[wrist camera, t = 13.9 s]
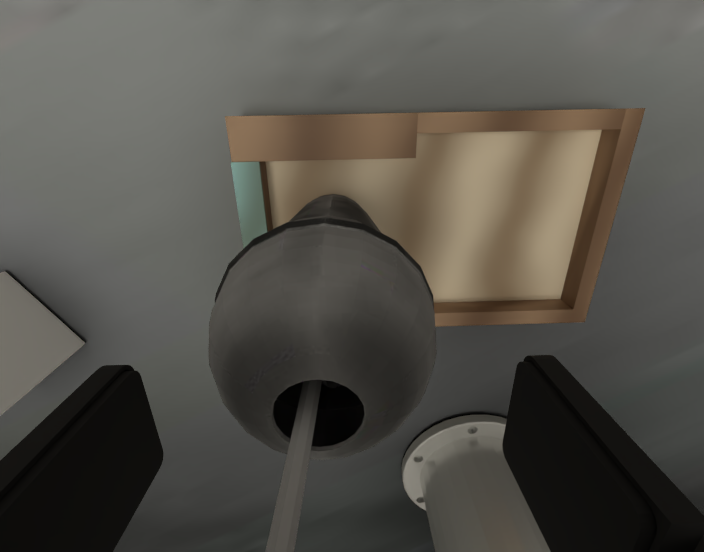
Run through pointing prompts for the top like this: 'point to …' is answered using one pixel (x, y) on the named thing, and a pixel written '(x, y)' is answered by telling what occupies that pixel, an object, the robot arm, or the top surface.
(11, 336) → the milk carton
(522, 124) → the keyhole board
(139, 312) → the top surface
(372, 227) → the beverage cup
